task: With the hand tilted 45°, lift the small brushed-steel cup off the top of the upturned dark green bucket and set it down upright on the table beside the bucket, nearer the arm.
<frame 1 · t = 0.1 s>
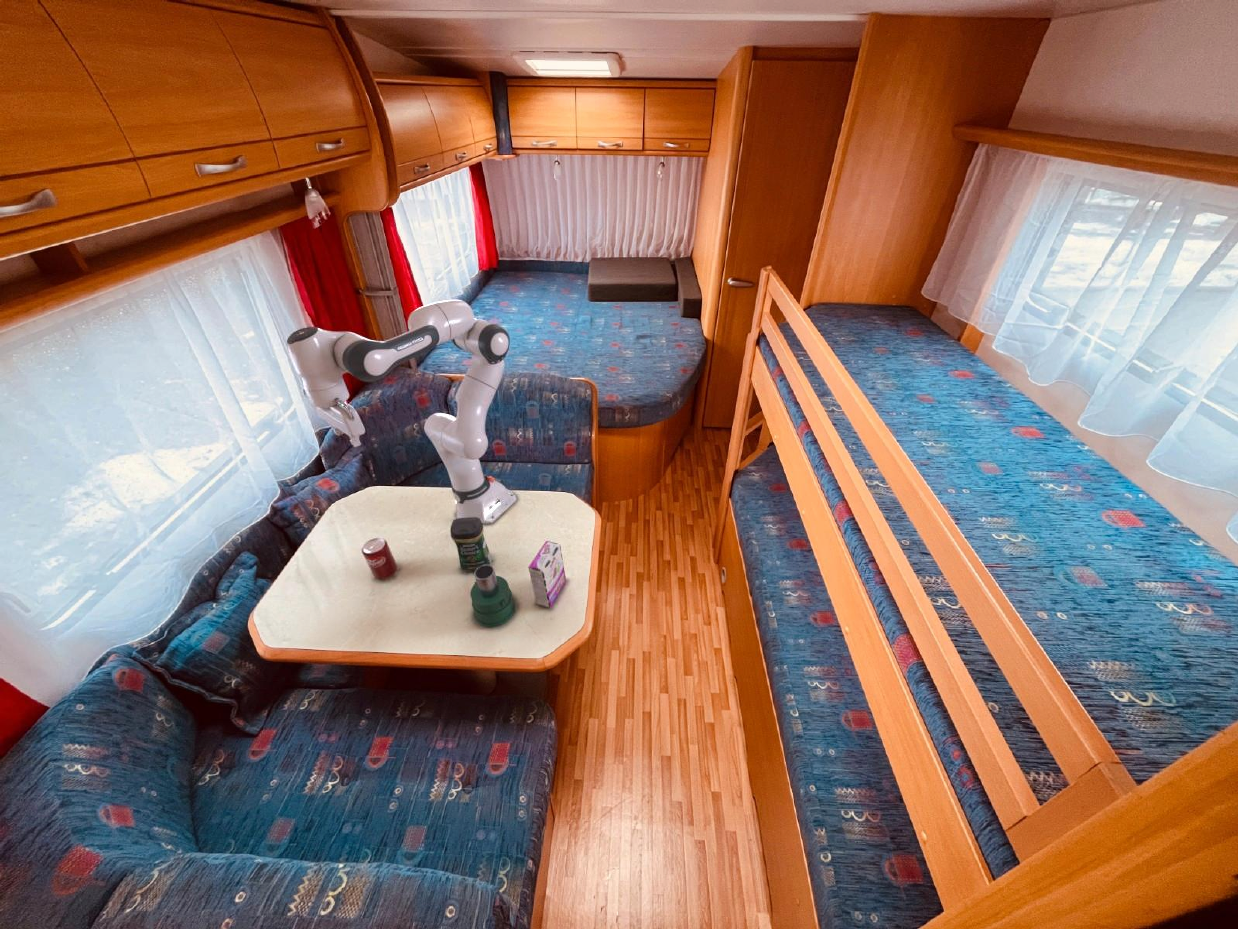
hand: (348, 439, 127), 48 cm above the table, tool pointing down, fingers open, 8 cm apart
bucket: (495, 609, 138), on the table
candy bar box: (551, 592, 143), on the table
coffee jar: (477, 564, 153), on the table
steel cup: (489, 589, 133), point 9 cm above the table, touching bucket
soda can: (386, 572, 152), on the table
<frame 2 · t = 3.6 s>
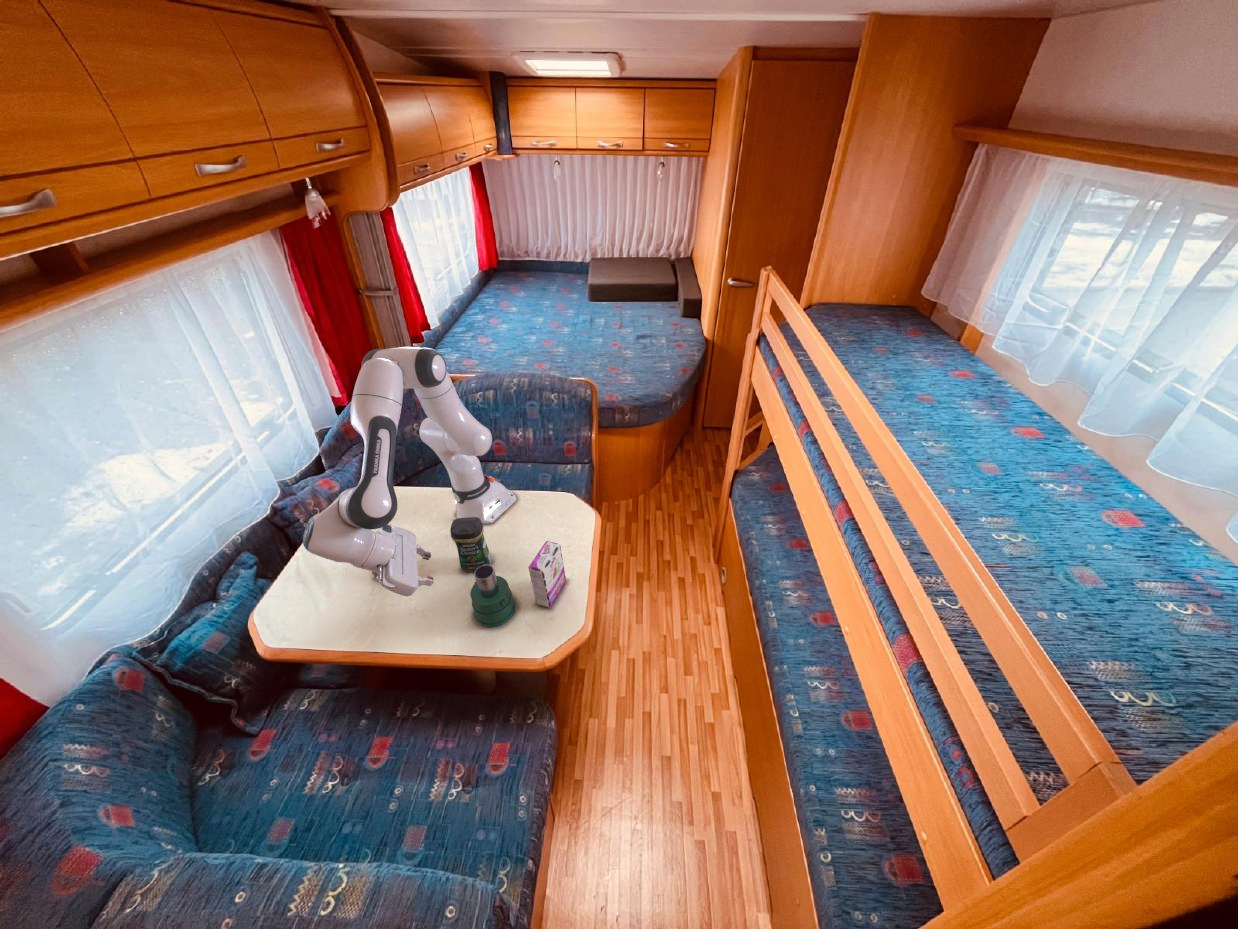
hand: (430, 568, 122), 23 cm above the table, tool tilted 45°, fingers open, 8 cm apart
nothing on the table moved.
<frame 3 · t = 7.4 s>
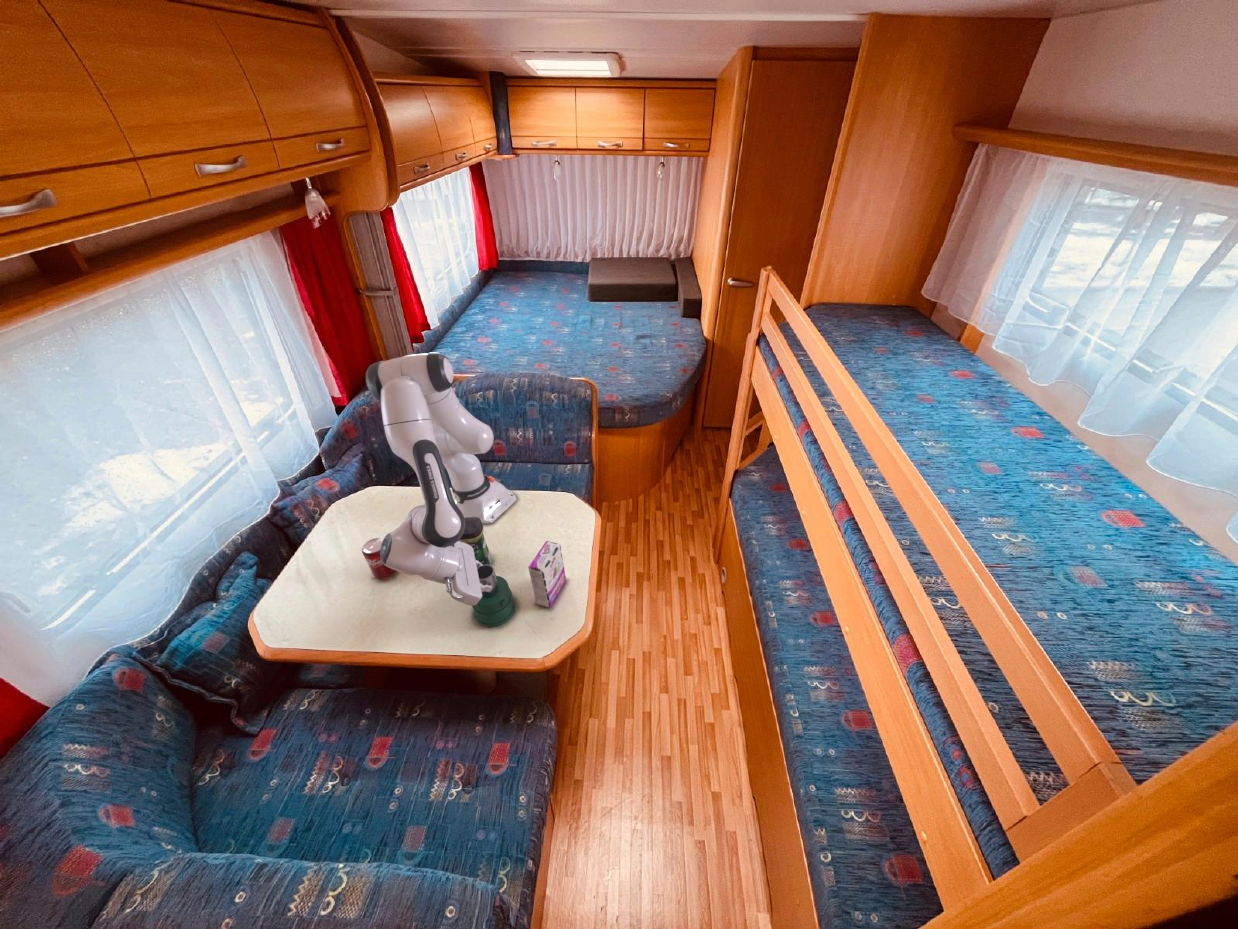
hand: (488, 579, 131), 13 cm above the table, tool tilted 45°, fingers closed on steel cup, 5 cm apart
steel cup: (489, 589, 133), point 9 cm above the table, touching bucket, gripper
everything else where it was.
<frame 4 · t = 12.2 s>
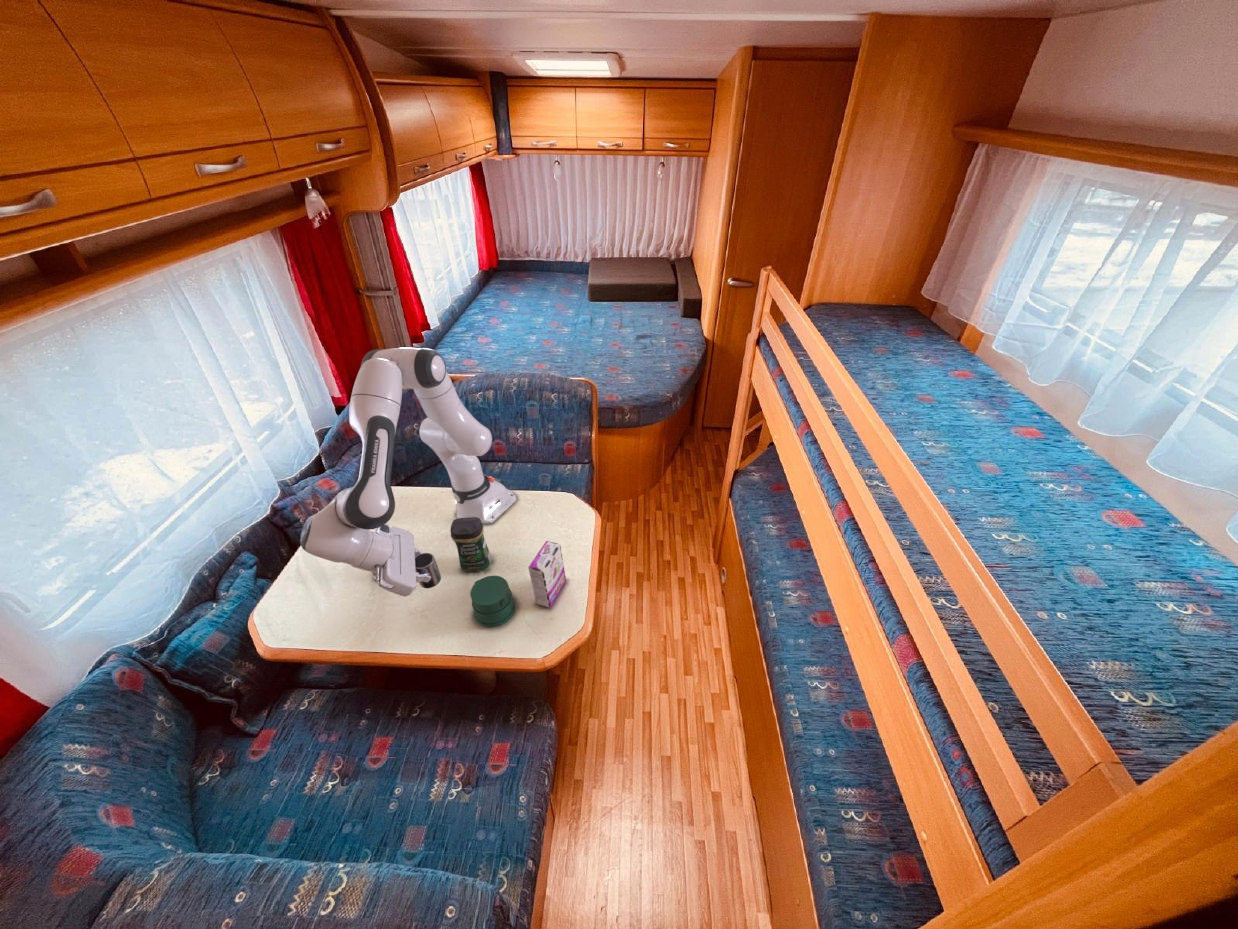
hand: (428, 568, 121), 23 cm above the table, tool tilted 45°, fingers closed on steel cup, 5 cm apart
steel cup: (430, 580, 123), point 19 cm above the table, touching gripper
everything else where it was.
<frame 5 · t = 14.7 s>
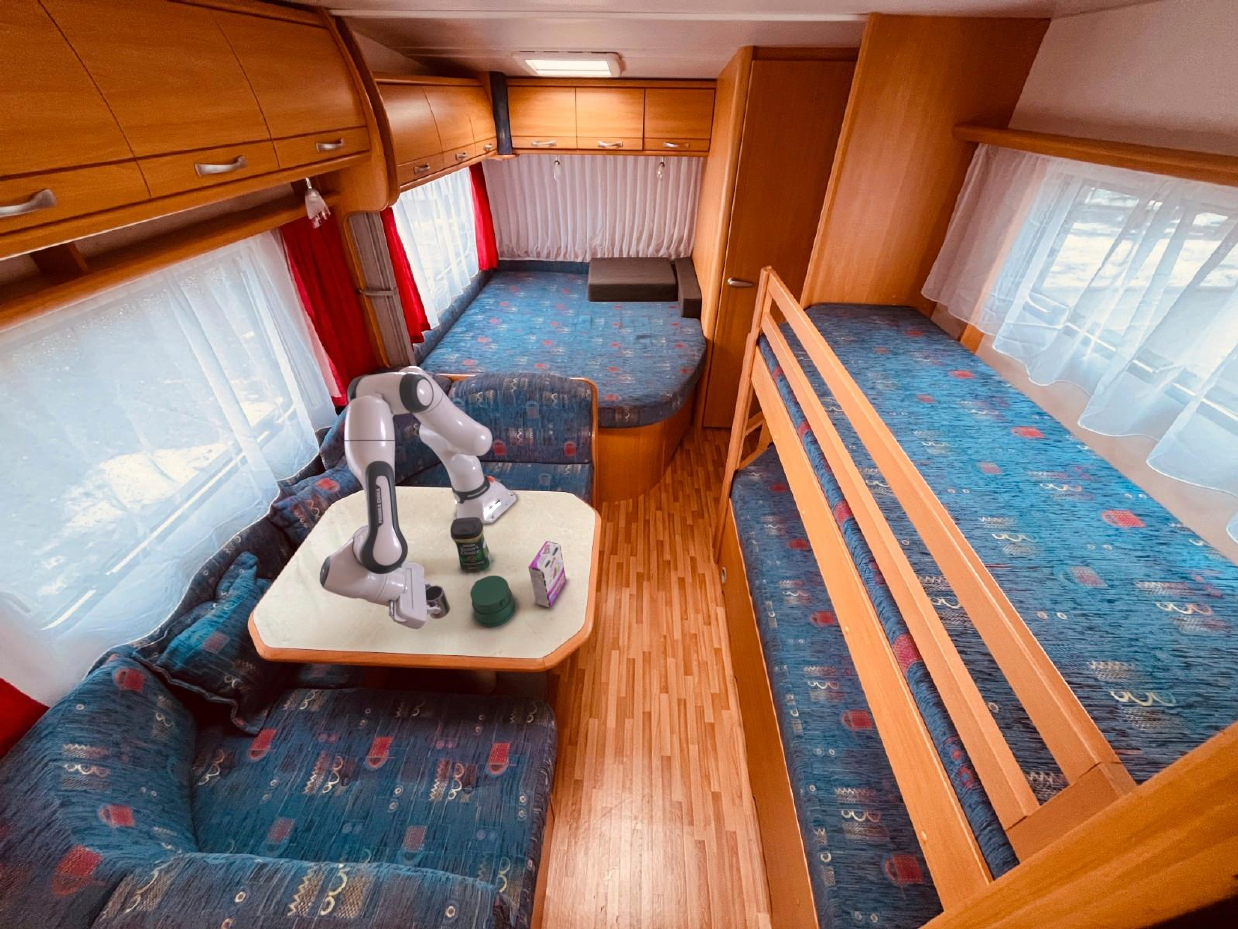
hand: (438, 600, 128), 11 cm above the table, tool tilted 45°, fingers closed on steel cup, 5 cm apart
steel cup: (439, 610, 130), point 7 cm above the table, touching gripper
everything else where it was.
when the fingers open (4 cm above the table, at t = 16.8 s): steel cup stays where it is, on the table.
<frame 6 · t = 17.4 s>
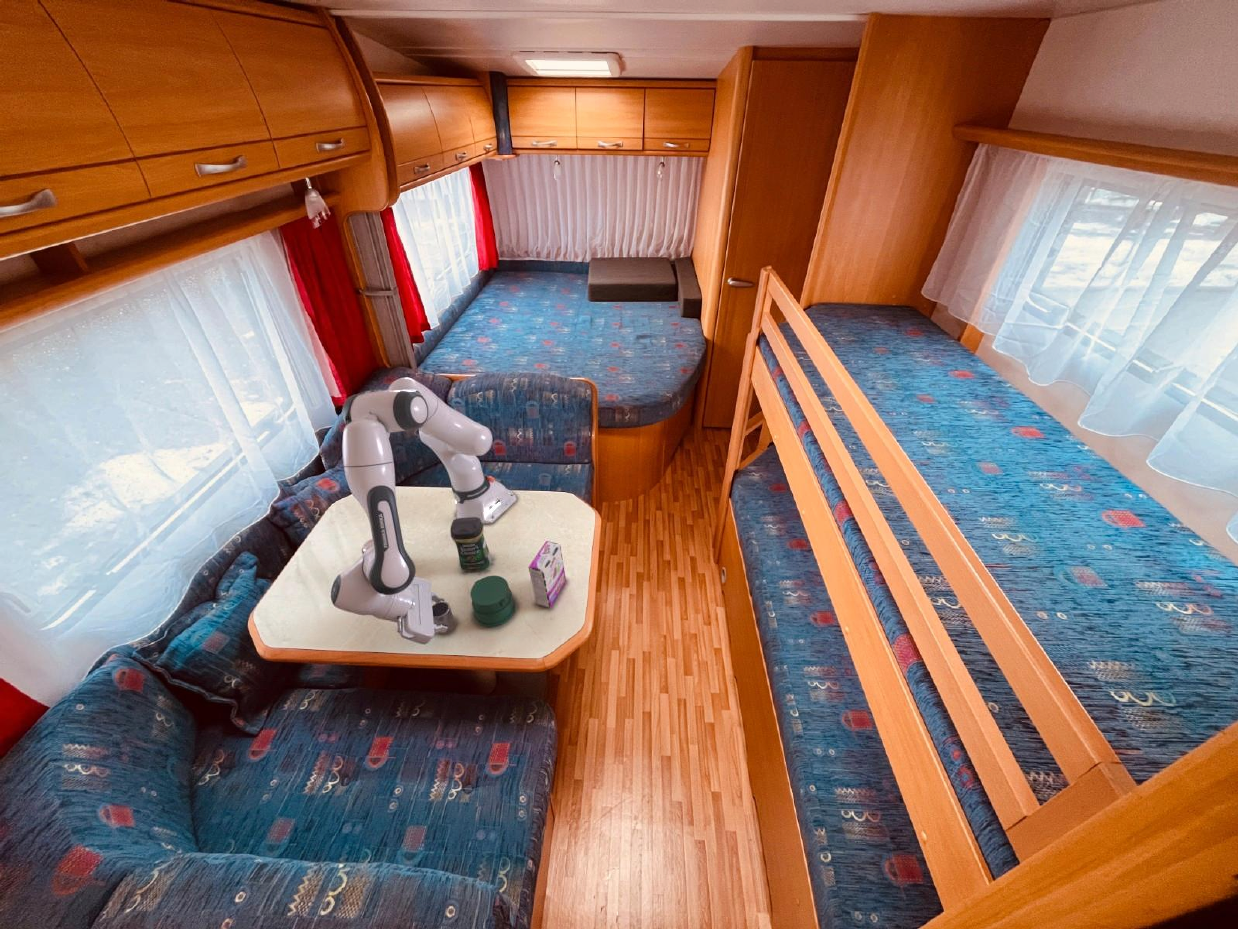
hand: (444, 615, 132), 4 cm above the table, tool tilted 45°, fingers open, 8 cm apart
steel cup: (446, 625, 134), on the table
everything else where it was.
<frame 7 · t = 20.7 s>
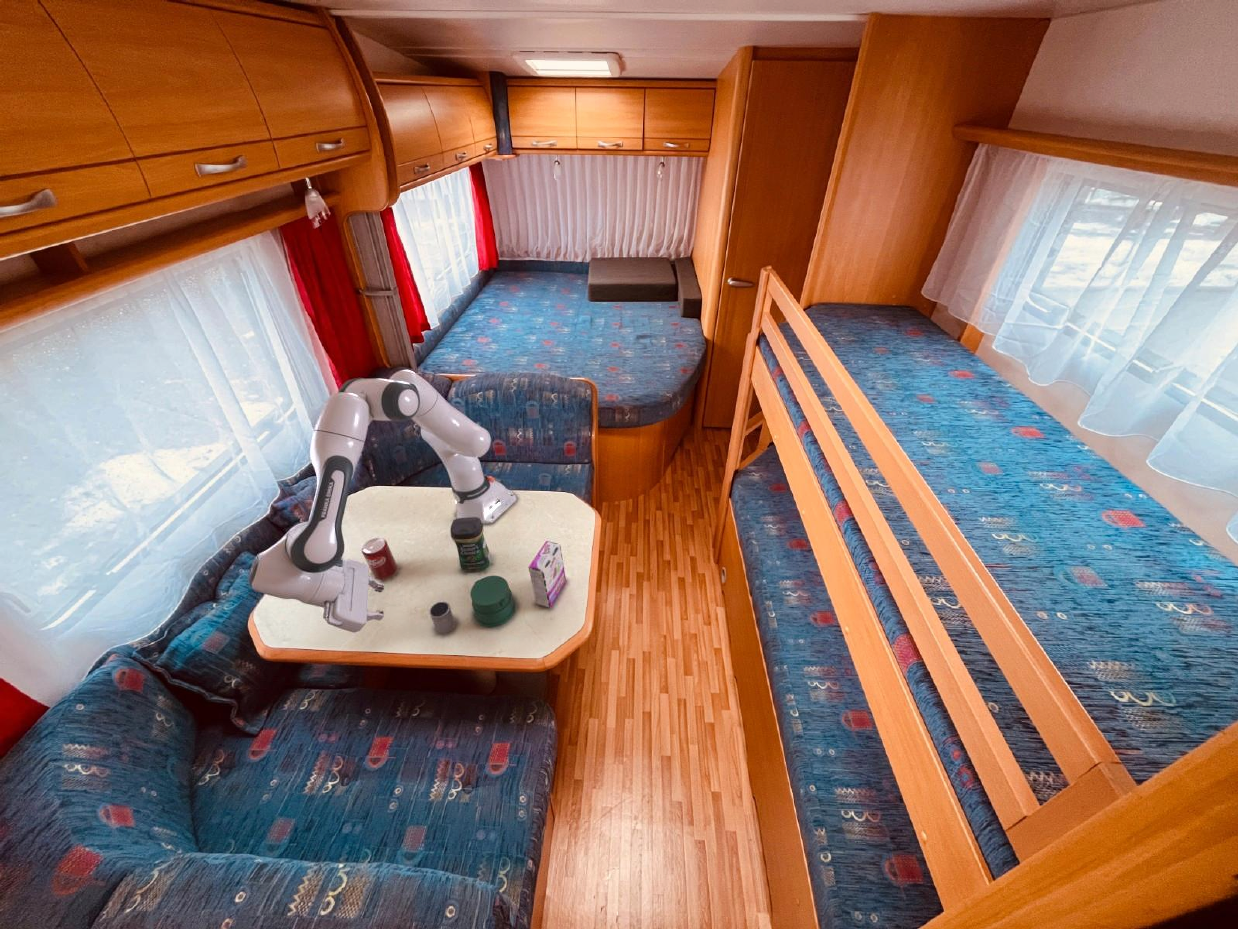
hand: (382, 601, 122), 16 cm above the table, tool tilted 45°, fingers open, 8 cm apart
nothing on the table moved.
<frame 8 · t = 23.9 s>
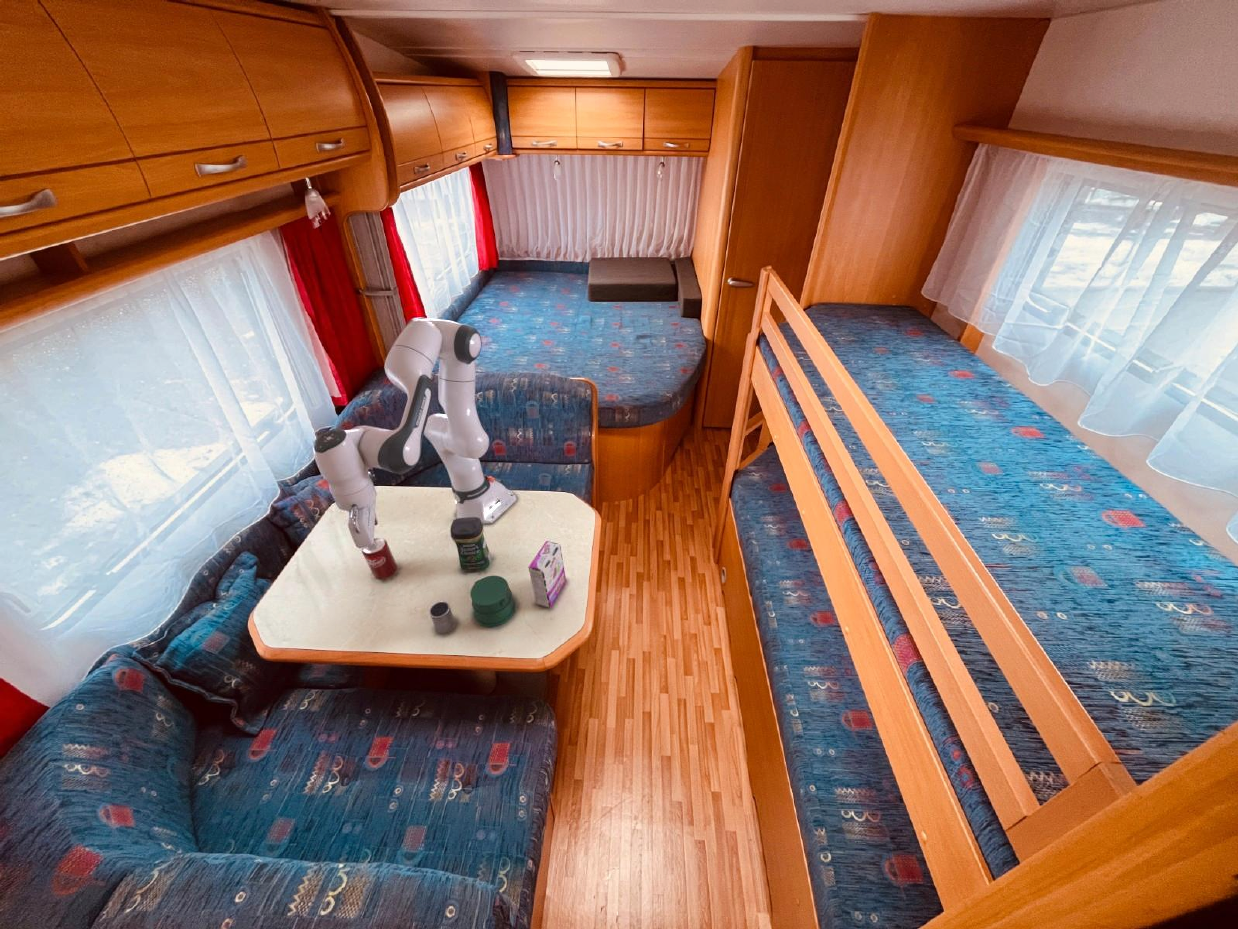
hand: (374, 535, 121), 31 cm above the table, tool pointing down, fingers open, 8 cm apart
nothing on the table moved.
at the end: steel cup inside the target area (0.2 cm from its centre), on the table; steel cup tilted 0°; the gripper is holding nothing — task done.
